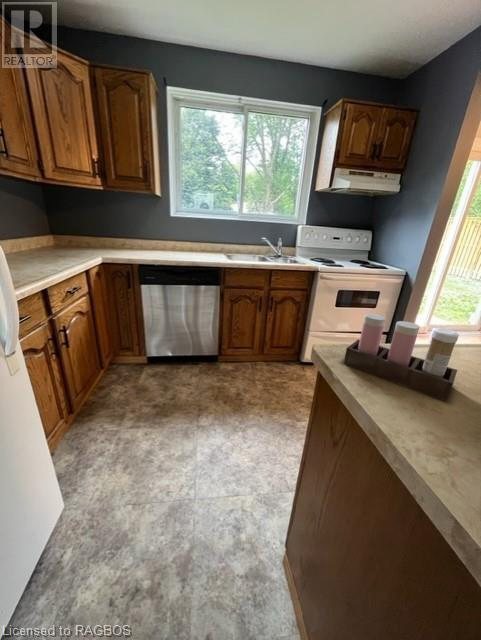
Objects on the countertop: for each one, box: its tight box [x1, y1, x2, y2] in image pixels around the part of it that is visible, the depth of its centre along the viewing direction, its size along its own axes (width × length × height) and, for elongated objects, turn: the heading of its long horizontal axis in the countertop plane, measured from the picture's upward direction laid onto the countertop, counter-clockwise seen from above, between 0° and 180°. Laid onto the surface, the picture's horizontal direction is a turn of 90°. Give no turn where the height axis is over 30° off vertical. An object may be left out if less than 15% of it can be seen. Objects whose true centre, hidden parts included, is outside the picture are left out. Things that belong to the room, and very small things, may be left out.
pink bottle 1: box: [358, 313, 387, 356], centre depth 71 cm, size 5×5×13 cm
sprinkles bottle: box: [422, 327, 460, 378], centre depth 62 cm, size 5×5×13 cm
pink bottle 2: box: [387, 320, 420, 367], centre depth 67 cm, size 5×5×13 cm
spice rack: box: [343, 338, 458, 402], centre depth 68 cm, size 23×8×5 cm, turn 47°
